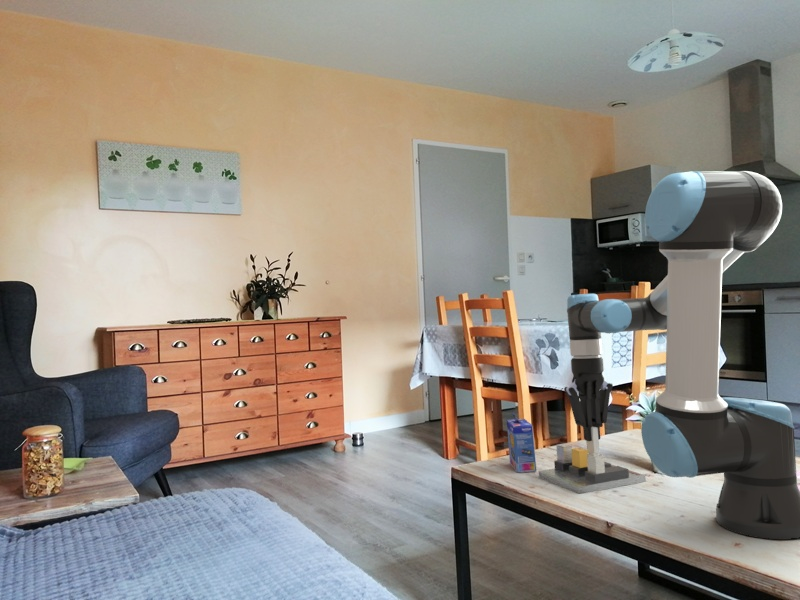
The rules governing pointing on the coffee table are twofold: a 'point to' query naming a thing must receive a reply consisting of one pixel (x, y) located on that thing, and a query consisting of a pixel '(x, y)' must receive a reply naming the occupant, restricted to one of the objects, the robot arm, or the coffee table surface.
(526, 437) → the ink cartridge box
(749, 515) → the robot arm
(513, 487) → the coffee table surface
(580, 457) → the block
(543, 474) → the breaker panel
